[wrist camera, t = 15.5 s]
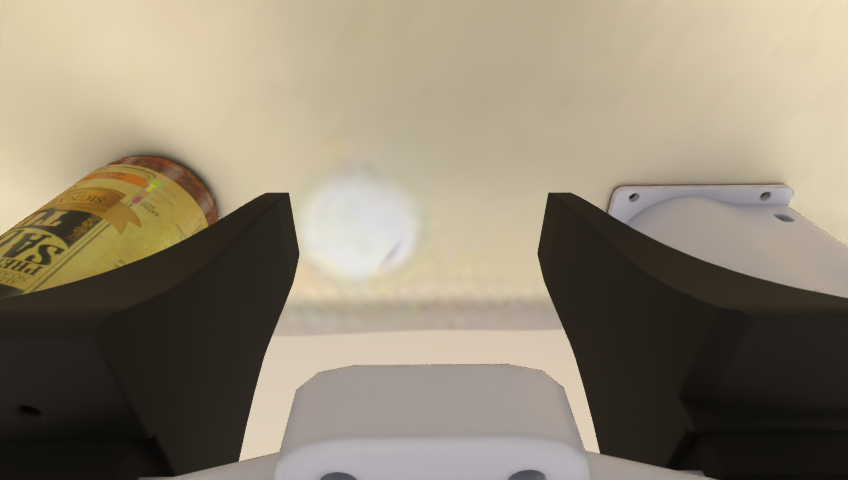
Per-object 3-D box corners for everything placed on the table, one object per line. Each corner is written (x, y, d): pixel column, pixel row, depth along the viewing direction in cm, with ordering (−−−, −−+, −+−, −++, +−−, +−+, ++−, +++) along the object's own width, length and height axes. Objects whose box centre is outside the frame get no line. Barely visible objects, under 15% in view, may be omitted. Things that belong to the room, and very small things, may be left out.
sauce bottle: (163, 126, 21) (-733, 759, 5) (248, 225, 24) (-106, 816, 8) (67, 184, 23) (-862, 814, 6) (159, 270, 26) (-297, 843, 9)
